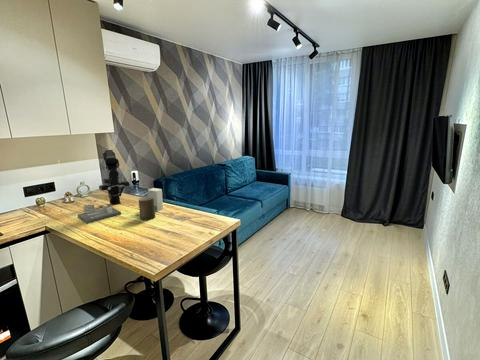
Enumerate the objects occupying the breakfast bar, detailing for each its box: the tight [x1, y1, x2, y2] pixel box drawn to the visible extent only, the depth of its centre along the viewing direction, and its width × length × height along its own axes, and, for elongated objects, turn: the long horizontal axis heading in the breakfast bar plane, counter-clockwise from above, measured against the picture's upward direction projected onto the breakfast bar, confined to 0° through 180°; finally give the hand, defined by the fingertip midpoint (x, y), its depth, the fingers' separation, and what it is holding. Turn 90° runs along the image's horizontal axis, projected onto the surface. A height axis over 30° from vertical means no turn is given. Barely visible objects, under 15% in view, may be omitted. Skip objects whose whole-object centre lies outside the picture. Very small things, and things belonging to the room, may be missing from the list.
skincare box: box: [147, 187, 164, 213], centre depth 190 cm, size 8×7×16 cm
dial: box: [82, 203, 96, 214], centre depth 181 cm, size 6×3×6 cm, turn 137°
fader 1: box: [102, 204, 109, 211], centre depth 184 cm, size 2×3×4 cm
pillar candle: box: [137, 195, 156, 221], centre depth 175 cm, size 10×10×15 cm
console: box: [77, 206, 122, 225], centre depth 181 cm, size 22×18×2 cm
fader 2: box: [107, 206, 113, 213], centre depth 180 cm, size 2×3×4 cm
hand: (116, 197), depth 182 cm, fingers open, 5 cm apart
